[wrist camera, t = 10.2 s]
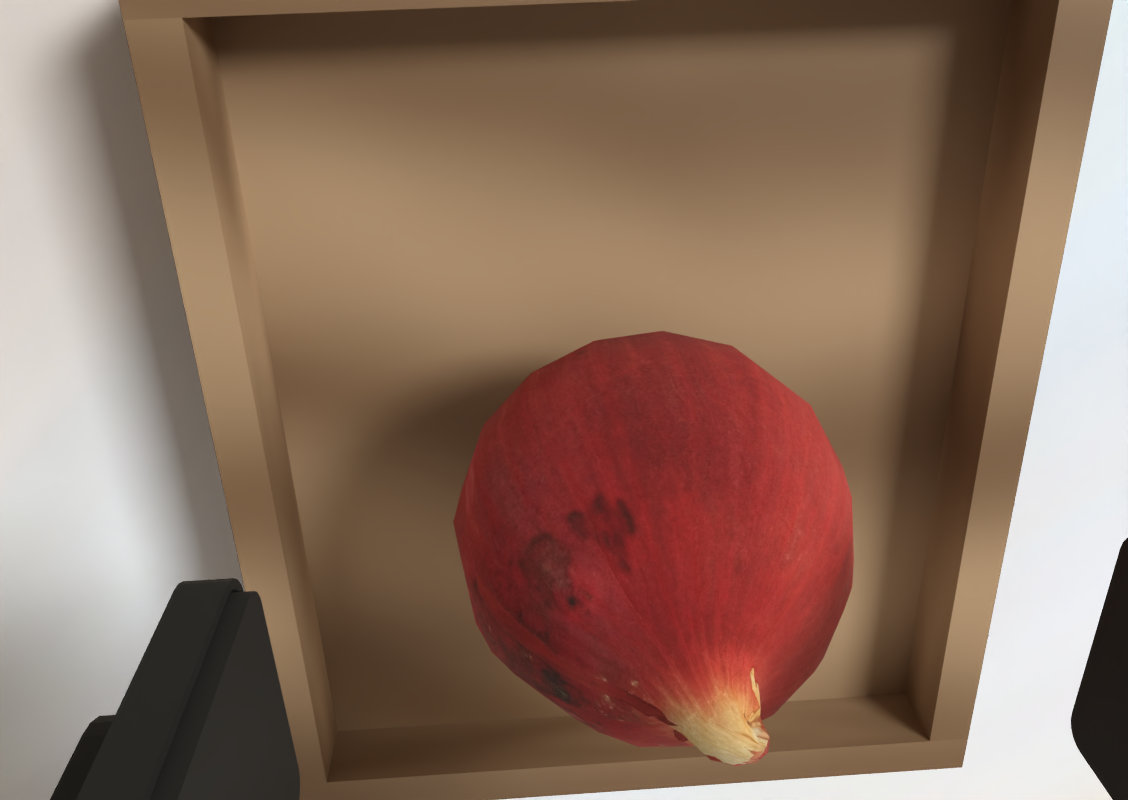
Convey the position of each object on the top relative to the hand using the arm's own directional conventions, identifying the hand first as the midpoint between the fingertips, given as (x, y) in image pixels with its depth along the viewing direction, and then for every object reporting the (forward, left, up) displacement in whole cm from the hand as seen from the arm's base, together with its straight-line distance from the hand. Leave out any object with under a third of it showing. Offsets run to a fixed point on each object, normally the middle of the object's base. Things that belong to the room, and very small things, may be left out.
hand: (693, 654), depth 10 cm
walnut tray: (+1, 0, -9) cm, 9 cm away
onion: (+1, 0, -8) cm, 8 cm away
